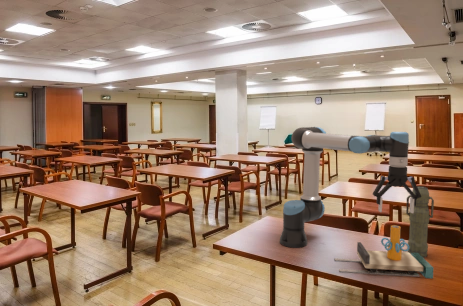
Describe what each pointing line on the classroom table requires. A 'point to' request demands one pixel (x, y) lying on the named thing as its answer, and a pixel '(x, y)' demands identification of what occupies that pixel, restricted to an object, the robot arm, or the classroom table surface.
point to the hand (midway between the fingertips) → (395, 212)
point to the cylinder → (395, 244)
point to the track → (426, 272)
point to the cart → (387, 260)
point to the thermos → (419, 222)
